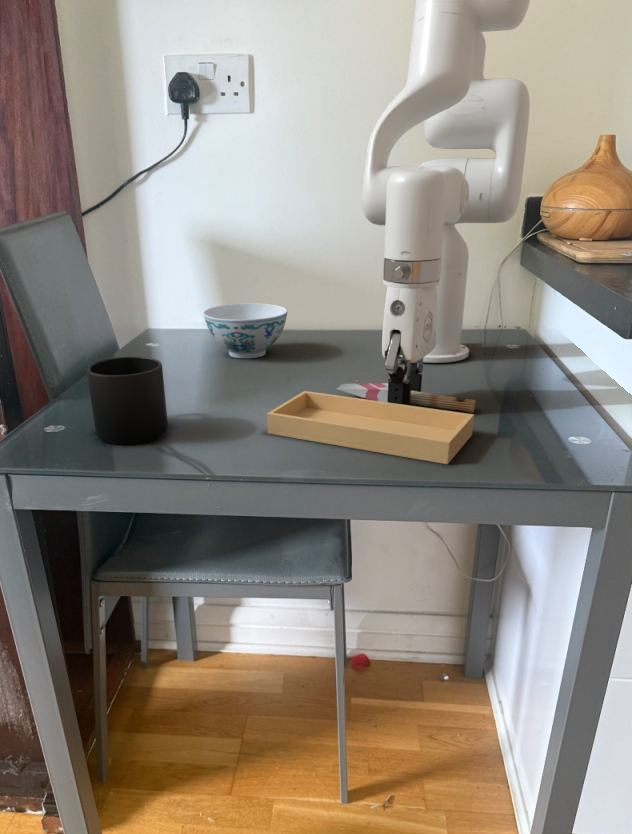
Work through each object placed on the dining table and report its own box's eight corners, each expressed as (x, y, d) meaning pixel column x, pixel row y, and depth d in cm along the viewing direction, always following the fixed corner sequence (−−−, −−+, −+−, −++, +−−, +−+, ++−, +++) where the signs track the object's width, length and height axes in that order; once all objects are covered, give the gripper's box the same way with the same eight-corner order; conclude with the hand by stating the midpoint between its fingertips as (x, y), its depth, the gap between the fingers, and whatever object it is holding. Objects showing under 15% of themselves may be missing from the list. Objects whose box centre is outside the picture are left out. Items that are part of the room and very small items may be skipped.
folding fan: (344, 373, 107) (478, 393, 100) (343, 390, 108) (475, 412, 101) (335, 380, 104) (472, 401, 97) (334, 398, 105) (469, 420, 98)
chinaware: (303, 349, 133) (303, 307, 130) (257, 368, 122) (255, 323, 118) (238, 340, 140) (236, 300, 137) (189, 357, 129) (186, 314, 126)
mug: (181, 415, 101) (175, 351, 97) (156, 446, 90) (149, 376, 86) (116, 414, 102) (108, 351, 98) (85, 444, 91) (74, 375, 87)
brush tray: (304, 409, 102) (304, 390, 101) (472, 435, 92) (474, 414, 91) (267, 433, 94) (266, 413, 92) (447, 464, 83) (449, 442, 82)
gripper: (418, 283, 87) (409, 425, 95) (457, 265, 100) (446, 391, 108) (361, 279, 90) (357, 418, 98) (405, 262, 103) (399, 385, 111)
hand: (404, 402), depth 103 cm, fingers closed on folding fan, 3 cm apart
